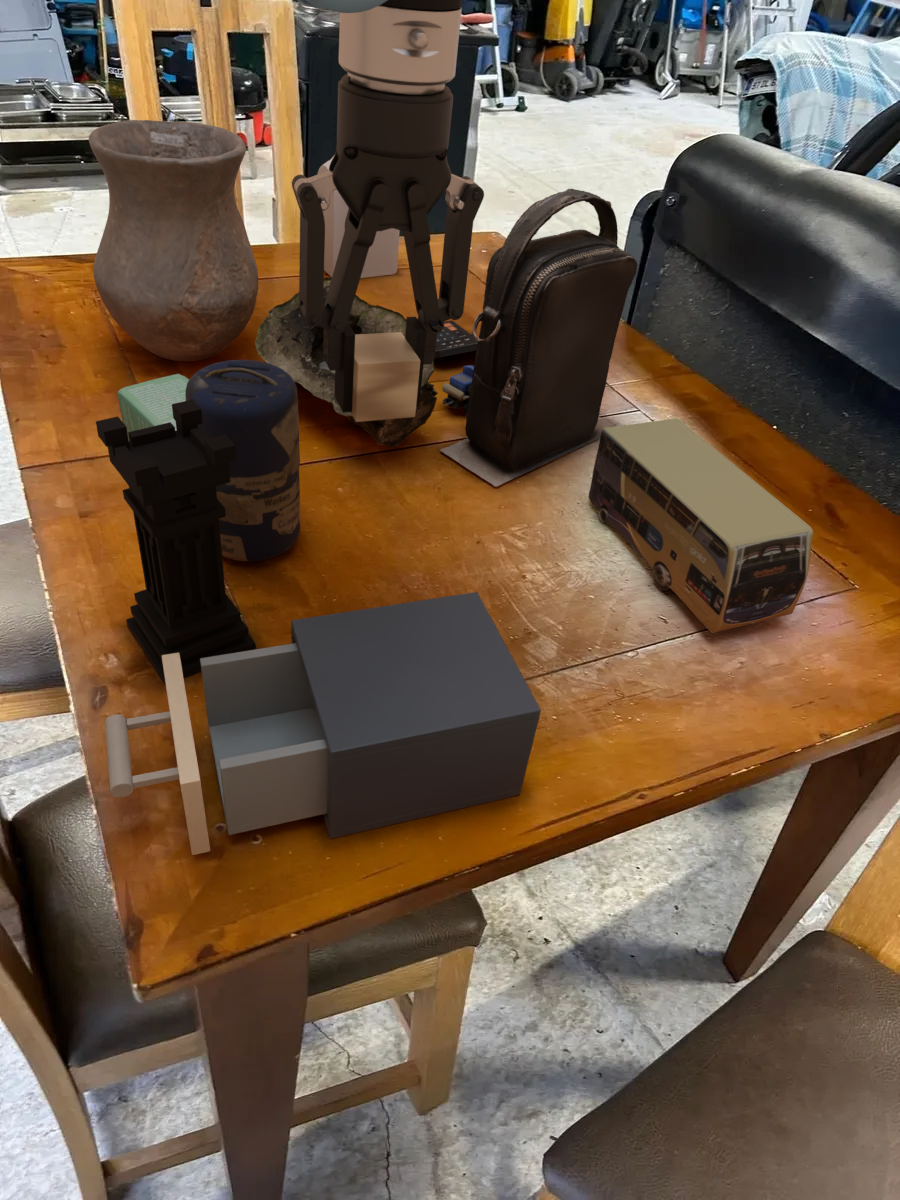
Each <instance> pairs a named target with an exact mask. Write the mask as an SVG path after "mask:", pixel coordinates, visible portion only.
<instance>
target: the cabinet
mask: <svg viewBox="0 0 900 1200" xmlns="http://www.w3.org/2000/svg"><path fill="white" fill-rule="evenodd" d="M290 625H291V626H290V633H291V634H290V637H291V641H290V642H291V644H293V643H296V645H297V649H298V652H299V655H300V659H301V662H302V665H303V669H304V672H305V675H306V679H307V682H308V685H309V689H310V692H311V695H312V699H313V702H314V705H315V709H316V712H317V715H318V719H319V722H320V725H321V729H322V732H323V735H324V739H325V742H326V745H327V749H328V803H327V813H326V814H322V817H323V821H324V824H325V828H326V831H327V835H328V838H329V840H332V839H336V838H340V837H345V836H349V835H353V834H357V833H363V832H366V831H370V830H375V829H379V828H383V827H387V826H391V825H396V824H401V823H405V822H409V821H414V820H417V819H422V818H426V817H427V818H428V817H430V816H435V815H439V814H443V813H448V812H452V811H456V810H461V809H465V808H469V807H473V806H478V805H483V804H487V803H490V802H496V801H499V800H504V799H509V798H512V797H516V796H517V797H518V796H520V795H521V793H522V788H523V784H524V780H525V777H526V772H527V768H528V765H529V760H530V756H531V753H532V748H533V744H534V740H535V737H536V732H537V729H538V724H539V720H540V716H541V712H542V710H541V707H540V706H539V704H538V702H537V700H536V698H535V696H534V695H533V692H532V690H531V688H530V687H529V685H528V683H527V681H526V680H525V678H524V676H523V674H522V671H521V670H520V668H519V667H518V665H517V663H516V661H515V660H514V659H515V658H514V657H513V656H512V654H511V652H510V650H509V648H508V646H507V644H506V643H505V641H504V638H503V637H502V635H501V633H500V631H499V629H498V628H497V626H496V624H495V622H494V620H493V619H492V616H491V615H490V613H489V611H488V609H487V608H486V605H485V603H484V601H483V600H482V598H481V596H480V594H479V592H477V591H474V592H468V593H467V592H466V593H461V594H454V595H448V596H440V597H435V598H428V599H421V600H416V601H408V602H402V603H396V604H395V603H394V604H389V605H381V606H375V607H370V608H368V607H367V608H363V609H357V610H350V611H349V610H348V611H344V612H336V613H331V614H324V615H317V616H309V617H304V618H296V619H292V620H290Z"/></svg>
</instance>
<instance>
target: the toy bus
mask: <svg viewBox="0 0 900 1200" xmlns="http://www.w3.org/2000/svg"><path fill="white" fill-rule="evenodd" d="M615 426H616V427H608V428H603V429H602V432H601V437H600V438H599V442H598V446H597V452H596V457H595V460H594V466H593V471H592V474H591V475H592V477H591V481H590V487H589V488H590V489H589V492H588V499H589V501H590V503H591V505H592V506H593V507H594V509H596V510H597V512H598V519H599V520H600V522H602V523H603V524H606V523H609V524H610V525H611V526H612V527H613V528H614V529H615V530H616V532H618V533H619V534H620V535H621V536H622V537H623V538H624V539H625V541H627V543H628V544H629V545H630V546H631V547H632V548H633V549H634V550H635V552H637V553H638V555H639V556H640V557H641V558H642V559H643V560H644V561H645V563H646V564H647V565H648V566H649V567H650V569H651V570H652V571H653V573H652V574H653V581H654V583H655V585H656V586H657V587H658V588H659V589H661V590H662V591H664V592H666V591H667V590H669V589H671V591H672V592H673V593H675V595H676V596H677V597H678V598H679V599H680V600H681V601H682V602H683V603H684V604H685V606H686V607H687V608H688V609H689V610H690V612H692V614H693V615H694V616H695V617H696V618H697V619H698V620H699V621H700V622H701V623H702V624H703V626H704V627H705V628H706V629H707V630H708V631H709V632H711V633H712V634H714V633H718V632H723V631H728V630H731V629H735V628H739V627H742V626H747V625H752V624H756V623H760V622H764V621H768V620H773V619H776V618H781V617H785V616H789V615H792V614H793V613H794V611H795V609H796V606H797V604H798V602H799V599H800V597H801V594H802V592H803V590H804V587H805V585H806V583H807V579H808V576H809V569H810V561H811V556H812V555H811V554H812V548H813V547H812V546H813V539H814V530H813V528H812V526H810V525H809V524H808V523H807V522H805V521H804V520H803V519H802V518H801V517H800V516H798V515H797V514H796V513H794V512H793V511H792V510H791V509H790V508H788V507H787V506H786V505H784V504H783V503H782V502H781V501H780V500H778V498H776V497H775V496H774V495H773V494H771V493H770V492H769V491H768V490H766V489H765V488H764V487H763V486H762V485H760V484H759V483H758V482H756V481H755V480H754V479H753V478H752V477H751V476H749V475H748V474H747V473H745V471H743V470H742V469H741V468H739V467H738V466H737V465H736V464H734V463H733V462H732V461H731V460H730V459H728V458H727V457H726V456H725V455H724V454H722V452H720V451H718V450H717V448H715V447H714V446H712V445H711V444H710V443H709V442H708V441H706V440H705V439H704V438H703V437H702V436H700V435H699V434H698V433H696V432H695V431H694V430H693V429H691V428H690V427H689V426H688V425H687V424H686V423H684V422H683V421H682V420H681V419H679V418H670V419H661V420H654V421H653V420H652V421H647V422H646V421H645V422H639V423H632V424H624V425H615Z"/></svg>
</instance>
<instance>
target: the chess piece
mask: <svg viewBox="0 0 900 1200" xmlns="http://www.w3.org/2000/svg"><path fill="white" fill-rule="evenodd" d="M172 411H173V419H174V420H175V421H176V429H177V430H176V431H175V427H174V426H173V425H172V423H171V422H169V423H165V424H161V425H157V426H152V427H148V428H144V429H140V430H135V431H131V432H128V433H127V427H126V426H125V424H124V423H123V422H122V418H120V417H119V416H113V417H108V418H104V419H101V420H96V421H95V426H96V431H97V437H99V439H100V440H101V442H102V443H103V445H104V446H105V447H107V451H108V457H109V462H110V463H111V464H112V466H113V467H114V469H115V470H116V471H117V472H118V474H119V475H120V476H121V478H122V479H123V480H124V482H125V483H126V485H127V486H128V488H125V489H122V496H123V500H124V501H125V502H126V504H127V505H128V506H129V507H130V509H131V510H132V513H133V519H134V520H133V521H134V524H135V531H136V532H135V533H136V535H137V536H136V538H137V543H138V549H139V554H140V560H141V561H140V562H141V568H142V573H143V579H144V586H145V589H142V590H140V591H137V592H134V593H133V594H134V595H133V596H134V601H135V602H136V604H134V605H130V606H129V609H130V614H131V615H132V616H131V617H129V618H127V619H125V621H126V625H127V628H128V629H129V631H130V633H131V634H132V636H133V637H134V639H135V640H136V642H137V644H138V645H139V647H140V648H141V650H142V652H143V653H144V654H145V656H146V658H147V659H148V661H149V662H150V664H151V666H152V667H153V669H154V670H155V672H156V673H157V675H158V676H159V678H160V679H161V681H162V683H163V684H164V686H166V683H165V676H164V669H163V662H162V655H167V654H173V653H179V654H180V660H181V666H182V672H183V678H184V679H185V678H188V677H190V676H194V675H196V674H199V673H200V672H201V673H202V671H201V663H200V659H201V658H206V657H212V656H218V655H225V654H231V653H237V652H243V651H249V650H256V649H257V643H256V641H255V640H254V639H253V637H252V636H251V635H250V633H249V627H248V626H247V625H246V623H245V622H244V621H243V619H242V616H241V611H240V610H239V609H238V608H237V606H236V604H234V602H233V601H232V599H231V598H230V597H229V596H228V594H227V593H226V584H225V583H226V582H225V571H224V562H223V556H222V548H221V537H220V526H219V519H220V518H223V517H226V512H225V507H224V506H223V505H222V504H221V502H220V501H219V500H218V499H217V492H216V486H219V485H222V484H226V483H230V469H229V462H231V461H235V460H236V447H235V444H234V443H233V442H232V441H231V440H230V439H229V438H228V437H227V436H226V435H222V436H218V437H214V438H209V437H208V435H207V434H206V433H205V432H204V431H203V430H202V429H201V428H200V427H199V428H198V425H199V424H203V421H202V411H201V408H200V407H199V406H198V405H197V404H196V403H195V402H194V401H193V400H188V401H183V402H179V403H174V404H172ZM128 436H129V439H128Z"/></svg>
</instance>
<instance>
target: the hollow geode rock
mask: <svg viewBox="0 0 900 1200" xmlns="http://www.w3.org/2000/svg"><path fill="white" fill-rule="evenodd" d="M331 279H332V277H331V276H330V277H325V276H324V285H323V305H325V301H326V297H327V294H328V290H329V287H330V283H331ZM406 320H407V318H406V317H404V315H403V314H402V313H400V312H399V311H395V310H392V309H390V308H388V307H387V308H386V307H384V306H381V305H373V304H370V303H369V302H367V301H366V300H364V299H363V298H360V297H359V295H357V293H356V294H355V298H354V301H353V305H352V308H351V311H350V315H349V318H348V324H349V325H350V327H351V329H352V330H353V332H354V334H355V335H356V334H375V333H395V332H401V333H402V334H403V336H404V337H405V333H406ZM323 348H324V328H322V327H319V326H316V327H311V326H310V325H308V323H307V322H306V320H305V318H304V316H303V314H302V312H301V310H300V308H299V292H296V293H295V294H293V296H292V297H291V298H289V299H288V300H286V301H285V302H283V303H281V304H276V305H274V306H273V307H272V308H271V309H270V310H268V316H266V317H265V318H264V319H263V321H262V323H260V325H259V326H258V328H257V336H256V338H255V350H256V351H257V353H258V356H260V358H262V360H263V361H264V362H266V363H270V364H272V365H275V366H277V367H279V368H281V369H283V370H284V371H285V372H287V373H288V374H289V375H290V376H291V377H292V379H293V380H294V382H295V384H299V385H301V386H302V387H303V388H304V389H305V390H307V391H308V392H310V393H311V395H312V396H313V397H314V398H318V399H319V400H322V401H326V403H328V404H329V405H331V406H333V410H334V411H335V413H337V414H338V415H342V416H344V417H347V418H348V421H349V422H351V423H353V424H355V425H357V426H360V427H361V428H363V430H364V431H365V432H367V433H368V434H369V436H371V438H373V440H375V442H376V444H378V445H380V446H390V448H395V447H397V446H399V445H400V444H401V443H403V442H404V441H405V440H406V439H408V437H409V436H411V435H412V434H413V433H414V432H415V431H416V430H418V429H419V428H420V427H421V426H423V425H425V424H426V422H427V421H428V419H429V418H430V417H431V416H432V413H433V411H434V409H435V406H436V403H437V400H438V398H437V396H436V395H438V394H439V392H438V391H437V390H436V388H434V386H435V384H432V383H430V381H429V380H430V378H431V376H432V375H433V374H434V372H435V365H434V361H435V359H434V360H433V362H432V364H425V365H423V374H422V385H421V395H420V406H419V407H416V413H415V417H409V418H397V419H385V420H373V421H361V422H356V421H355V419H354V418H353V416H352V414H351V412H344V413H343V412H342V410H341V408H340V406H339V404H338V402H337V400H336V398H335V370H334V371H330V370H329V368H328V366H327V364H326V362H325V359H324V357H323V350H324V349H323Z"/></svg>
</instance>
